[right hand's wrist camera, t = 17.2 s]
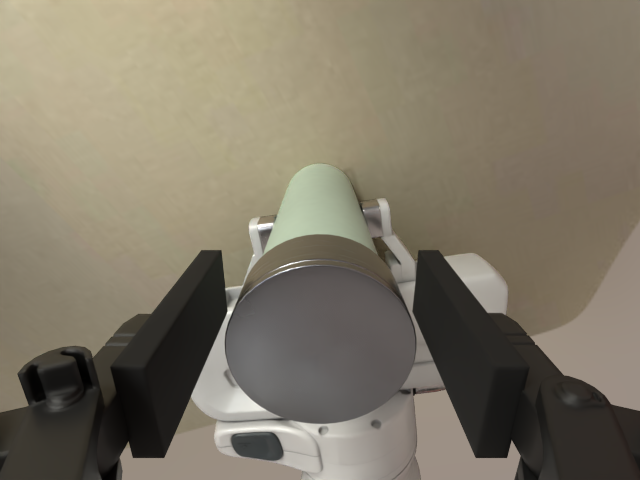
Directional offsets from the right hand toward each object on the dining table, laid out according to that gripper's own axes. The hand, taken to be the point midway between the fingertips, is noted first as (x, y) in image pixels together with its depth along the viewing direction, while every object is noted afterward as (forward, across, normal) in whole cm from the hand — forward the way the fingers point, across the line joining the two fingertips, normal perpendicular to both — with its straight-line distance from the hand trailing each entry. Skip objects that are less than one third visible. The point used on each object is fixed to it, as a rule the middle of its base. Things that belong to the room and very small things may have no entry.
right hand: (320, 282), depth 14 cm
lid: (-4, 0, 0) cm, 4 cm away
